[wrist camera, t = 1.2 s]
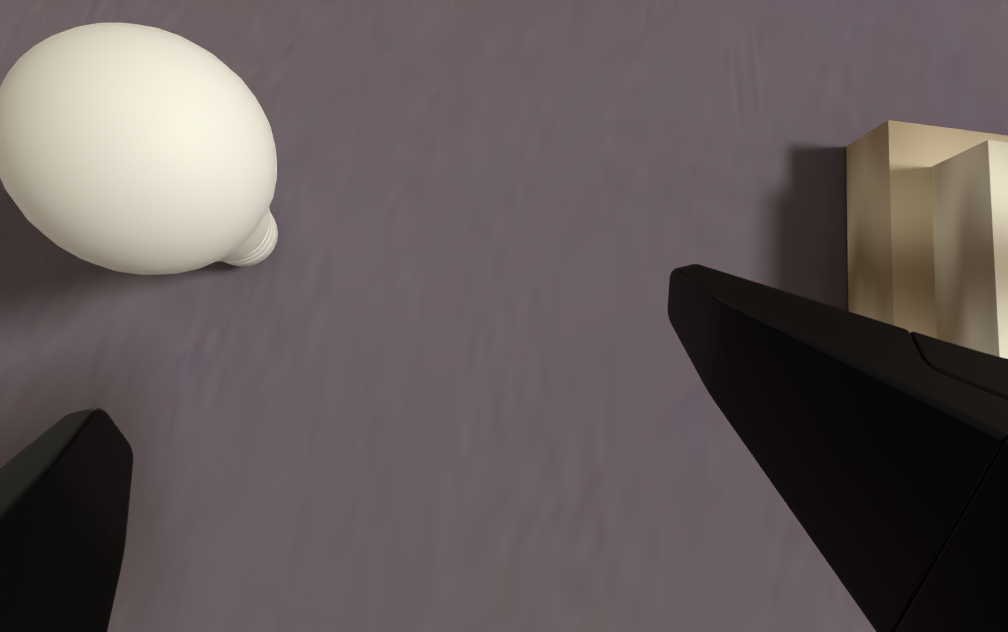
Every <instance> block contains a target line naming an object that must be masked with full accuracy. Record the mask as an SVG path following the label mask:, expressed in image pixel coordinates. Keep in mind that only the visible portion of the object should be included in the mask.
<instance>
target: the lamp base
mask: <svg viewBox="0 0 1008 632" xmlns="http://www.w3.org/2000/svg"><path fill="white" fill-rule="evenodd" d="M846 174H847V244H848V311H850V312H853V313H856V314H859V315H862V316H866V317H869V318H872V319H875V320H878V321H882V322H885V323H888V324H891V325H895V326H898V327H901V328H904V329H907V330H908V331H909V333H911V332H917V333H921V334H924V335H927V336H930V337H933V338H936V339H940V340H943V341H946V342H950V343H953V344H956V345H960V346H963V347H967V348H970V349H973V350H977V351H980V352H984V353H987V354H991V355H995V356H999V357H1002V358H1006V359H1008V136H1005V135H998V134H990V133H983V132H975V131H967V130H960V129H952V128H944V127H937V126H929V125H922V124H914V123H906V122H899V121H891V120H888V121H886V122H885V123H883V124H881V125H880V126H878V127H877V128H875V129H873V130H872V131H870V132H869V133H867V134H865V135H864V136H862V137H861V138H859V139H857V140H856V141H854V142H853V143H851V144H849V145H848V146H846Z"/></svg>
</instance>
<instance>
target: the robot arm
mask: <svg viewBox="0 0 1008 632" xmlns="http://www.w3.org/2000/svg"><path fill="white" fill-rule="evenodd" d="M668 316H669V319H670V322H671V324H672V326H673V328H674V330H675V332H676V334H677V335H678V337H679V339H680V341H681V343H682V345H683V347H684V348H685V350H686V352H687V354H688V356H689V358H690V359H691V361H692V363H693V365H694V367H695V369H696V371H697V372H698V374H699V376H700V378H701V380H702V382H703V383H704V385H705V387H706V389H707V390H708V392H709V394H710V395H711V397H712V398H713V400H714V401H715V403H716V404H717V405H718V407H719V408H720V410H721V411H722V413H723V414H724V415H725V417H726V418H727V420H728V421H729V423H730V424H731V425H732V427H733V428H734V430H735V431H736V433H737V434H738V435H739V437H740V438H741V440H742V441H743V442H744V444H745V445H746V447H747V448H748V450H749V451H750V452H751V454H752V455H753V457H754V458H755V460H756V461H757V462H758V464H759V465H760V467H761V468H762V470H763V471H764V472H765V474H766V475H767V477H768V478H769V479H770V481H771V482H772V484H773V485H774V487H775V488H776V489H777V491H778V492H779V494H780V495H781V497H782V498H783V499H784V501H785V502H786V504H787V505H788V507H789V508H790V509H791V511H792V512H793V514H794V515H795V516H796V518H797V519H798V521H799V522H800V524H801V525H802V526H803V528H804V529H805V531H806V532H807V534H808V535H809V536H810V538H811V539H812V541H813V542H814V544H815V545H816V546H817V548H818V549H819V551H820V552H821V554H822V555H823V556H824V558H825V559H826V561H827V562H828V563H829V565H830V566H831V568H832V569H833V571H834V572H835V573H836V575H837V576H838V578H839V579H840V581H841V582H842V583H843V585H844V586H845V588H846V589H847V591H848V592H849V593H850V595H851V596H852V598H853V599H854V600H855V602H856V603H857V605H858V606H859V608H860V609H861V610H862V612H863V613H864V615H865V616H866V618H867V619H868V620H869V622H870V623H871V625H872V626H873V628H874V629H875V630H876V632H1008V359H1006V358H1002V357H999V356H995V355H991V354H987V353H984V352H980V351H977V350H973V349H970V348H967V347H963V346H960V345H956V344H953V343H950V342H946V341H943V340H940V339H936V338H933V337H930V336H927V335H924V334H921V333H917V332H911V333H909V331H908V330H907V329H904V328H901V327H898V326H895V325H891V324H888V323H885V322H882V321H878V320H875V319H872V318H869V317H866V316H862V315H859V314H856V313H853V312H850V311H846V310H843V309H840V308H837V307H833V306H830V305H827V304H824V303H821V302H817V301H814V300H811V299H808V298H805V297H801V296H798V295H795V294H792V293H788V292H785V291H782V290H779V289H776V288H772V287H769V286H766V285H763V284H760V283H756V282H753V281H750V280H747V279H744V278H740V277H737V276H734V275H731V274H728V273H724V272H721V271H718V270H715V269H712V268H708V267H705V266H702V265H699V264H692V265H687V266H683V267H679V268H676V269H674V270H673V271H672V272H671V275H670V282H669V297H668ZM132 468H133V453H132V449H131V446H130V444H129V443H128V441H127V440H126V438H125V437H124V436H123V434H122V433H121V432H120V430H119V429H118V427H117V426H116V425H115V423H114V422H113V420H112V419H111V418H110V416H109V415H108V414H107V413H106V412H105V411H104V410H103V409H100V408H91V409H87V410H83V411H78V412H74V413H70V414H68V415H66V416H65V417H63V418H62V419H61V420H59V421H58V422H57V423H56V424H54V425H53V426H52V427H51V428H50V429H48V430H47V431H46V432H45V433H43V434H42V435H41V436H40V437H38V438H37V439H36V440H35V441H33V442H32V443H31V444H30V445H28V446H27V447H26V448H25V449H23V450H22V451H21V452H20V453H18V454H17V455H16V456H15V457H13V458H12V459H11V460H10V461H9V462H7V463H6V464H5V465H4V466H2V467H1V468H0V632H107V630H108V625H109V620H110V616H111V611H112V607H113V602H114V598H115V593H116V589H117V584H118V579H119V575H120V570H121V565H122V560H123V555H124V548H125V541H126V532H127V521H128V511H129V500H130V489H131V479H132Z"/></svg>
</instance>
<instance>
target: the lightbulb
mask: <svg viewBox="0 0 1008 632" xmlns="http://www.w3.org/2000/svg"><path fill="white" fill-rule="evenodd" d="M0 178H1V181H2V183H3V185H4V188H5V190H6V191H7V192H8V194H9V195H10V196H11V198H12V199H13V201H14V202H15V203H16V205H17V206H18V207H19V209H20V210H21V211H22V213H23V214H24V216H25V217H26V218H27V220H28V221H29V222H30V223H32V224H33V225H34V226H35V227H36V228H37V229H38V230H40V231H41V232H42V233H43V234H44V235H45V236H46V237H48V238H49V239H50V240H51V241H53V242H54V243H55V244H56V245H58V246H59V247H61V248H63V249H64V250H66V251H68V252H70V253H71V254H73V255H75V256H77V257H78V258H80V259H83V260H85V261H88V262H90V263H93V264H96V265H99V266H102V267H105V268H108V269H111V270H114V271H117V272H125V273H132V274H140V275H159V274H178V273H183V272H187V271H191V270H195V269H200V268H202V267H204V266H207V265H209V264H211V263H214V262H216V261H223V262H226V263H228V264H231V265H235V266H250V265H254V264H257V263H259V262H261V261H262V260H264V259H265V258H266V257H267V256H268V255H269V254H270V253H271V252H272V251H273V249H274V247H275V245H276V242H277V238H278V229H277V225H276V222H275V220H274V218H273V216H272V214H271V213H270V209H269V206H270V203H271V201H272V198H273V196H274V190H275V185H276V180H277V157H276V149H275V144H274V139H273V135H272V131H271V127H270V124H269V122H268V120H267V118H266V116H265V114H264V112H263V110H262V108H261V106H260V104H259V103H258V101H257V99H256V98H255V96H254V95H253V94H252V92H251V91H250V90H249V88H248V87H247V86H246V84H245V83H244V82H243V81H242V79H241V78H240V77H239V76H237V75H236V74H235V73H234V72H233V71H232V70H231V69H229V68H228V67H227V66H226V65H225V64H224V63H222V62H221V61H220V60H219V59H218V58H217V57H215V56H214V55H213V54H212V53H210V52H208V51H206V50H205V49H203V48H201V47H199V46H198V45H196V44H194V43H193V42H191V41H189V40H187V39H185V38H183V37H181V36H179V35H176V34H173V33H170V32H167V31H165V30H162V29H159V28H154V27H148V26H143V25H137V24H128V23H96V24H90V25H85V26H79V27H75V28H72V29H70V30H67V31H64V32H61V33H58V34H55V35H53V36H51V37H49V38H47V39H45V40H44V41H42V42H40V43H38V44H36V45H35V46H34V47H32V48H31V49H30V50H29V51H28V52H26V53H25V54H24V55H23V56H22V57H20V58H19V60H18V61H17V62H16V63H15V65H14V66H13V67H12V68H11V69H10V71H9V72H8V74H7V75H6V77H5V79H4V81H3V83H2V85H1V87H0Z"/></svg>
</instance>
